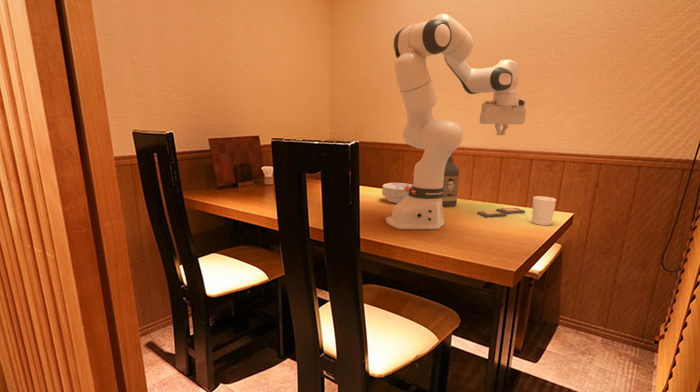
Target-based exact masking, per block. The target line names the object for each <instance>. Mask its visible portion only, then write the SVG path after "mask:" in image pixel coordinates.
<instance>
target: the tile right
mask: <svg viewBox="0 0 700 392" xmlns="http://www.w3.org/2000/svg"><path fill="white" fill-rule="evenodd" d="M495 211H500V212H502V213H505V214H507V215H516V214H525V213H526V210H524V209H521V208H519V207H505V208H504V207H502V208H501V207H500V208H496V210H495Z"/></svg>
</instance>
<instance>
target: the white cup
mask: <svg viewBox="0 0 700 392" xmlns="http://www.w3.org/2000/svg"><path fill="white" fill-rule="evenodd" d="M532 199H533V201H532V214H531V215H532V217H531V218H532V219H531V222H532V224H535V225H538V226H539V225H540V226H551V224H552V221H553V217H554V212H555V208H556V207H555V206H556V202H557V199H556V198H554V197H549V196H543V195H542V196H541V195H539V196H538V195H537V196H533V197H532Z"/></svg>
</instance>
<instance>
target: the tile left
mask: <svg viewBox="0 0 700 392" xmlns="http://www.w3.org/2000/svg"><path fill="white" fill-rule="evenodd" d="M476 214H477V215H479V216H481V217H483V218H485V219H487V218H488V219H489V218H502V217H507V215H508V214H505V213H502V212H500V211H496V210H488V211H487V210H485V211H484V210H483V211H477V213H476Z"/></svg>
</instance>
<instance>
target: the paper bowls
mask: <svg viewBox="0 0 700 392" xmlns="http://www.w3.org/2000/svg"><path fill="white" fill-rule="evenodd" d="M405 186H408V187H410V188H411V187H412V186H413V184H410V183H405V182H388V183H384V184H383V185H382V196H383V197H385V199H386V201H387V202H388V203H392V204H397V203H399V202H400V201H402V200H403V199H404V198H406V197H407V196H408V195H409V192H406V191H405V190H404V187H405Z"/></svg>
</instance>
